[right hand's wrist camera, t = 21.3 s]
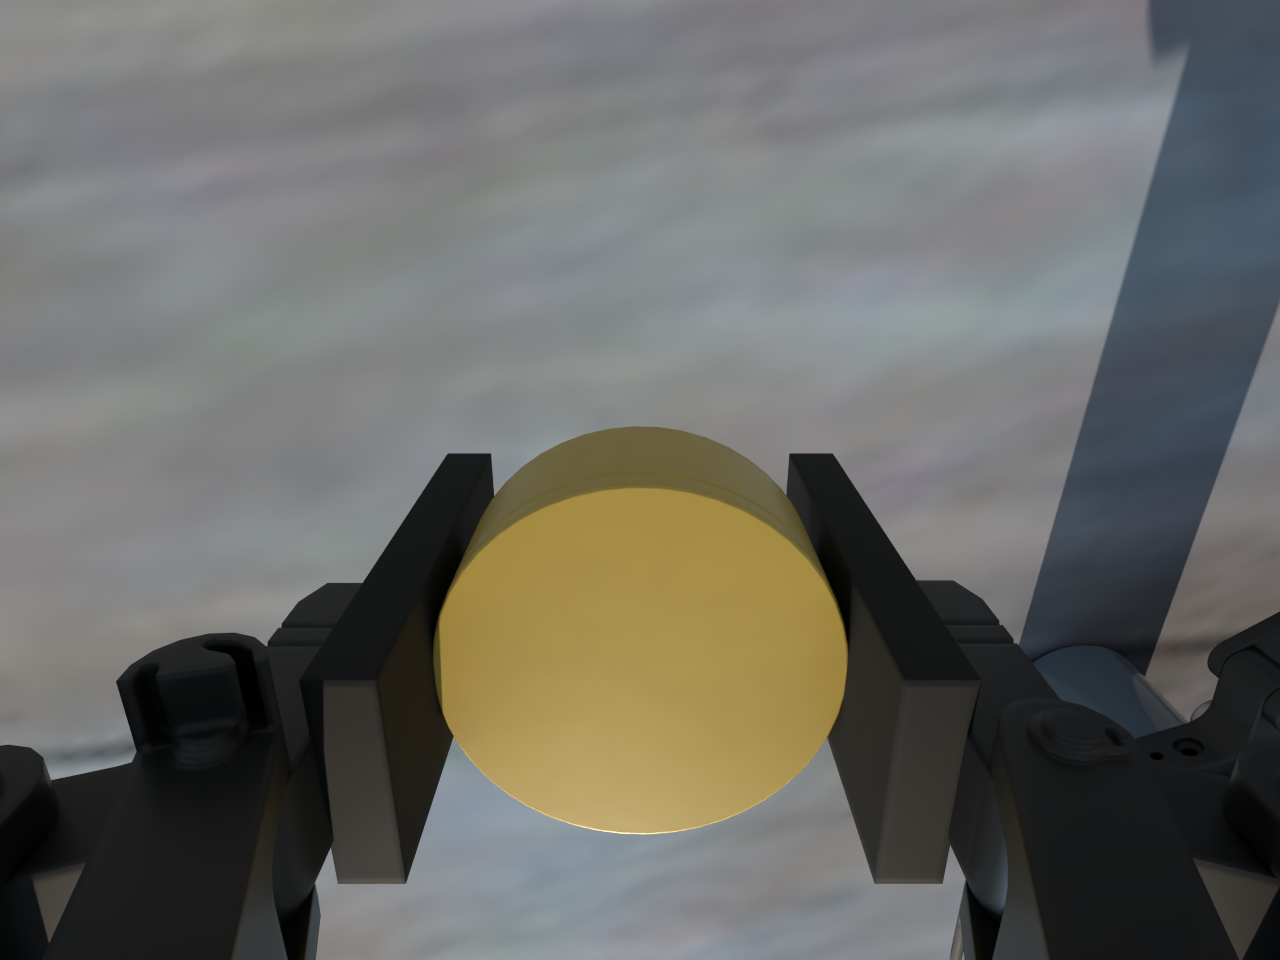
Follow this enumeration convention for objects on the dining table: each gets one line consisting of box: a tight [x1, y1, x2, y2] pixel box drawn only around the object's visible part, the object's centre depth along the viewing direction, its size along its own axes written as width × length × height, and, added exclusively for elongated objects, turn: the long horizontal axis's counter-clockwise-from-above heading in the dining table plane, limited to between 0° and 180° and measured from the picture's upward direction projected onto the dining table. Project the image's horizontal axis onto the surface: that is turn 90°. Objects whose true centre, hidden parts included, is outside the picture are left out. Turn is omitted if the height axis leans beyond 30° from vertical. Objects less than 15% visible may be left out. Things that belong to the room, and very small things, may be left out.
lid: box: [433, 427, 848, 834], centre depth 11 cm, size 5×5×2 cm
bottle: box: [1032, 645, 1189, 740], centre depth 19 cm, size 5×5×19 cm
